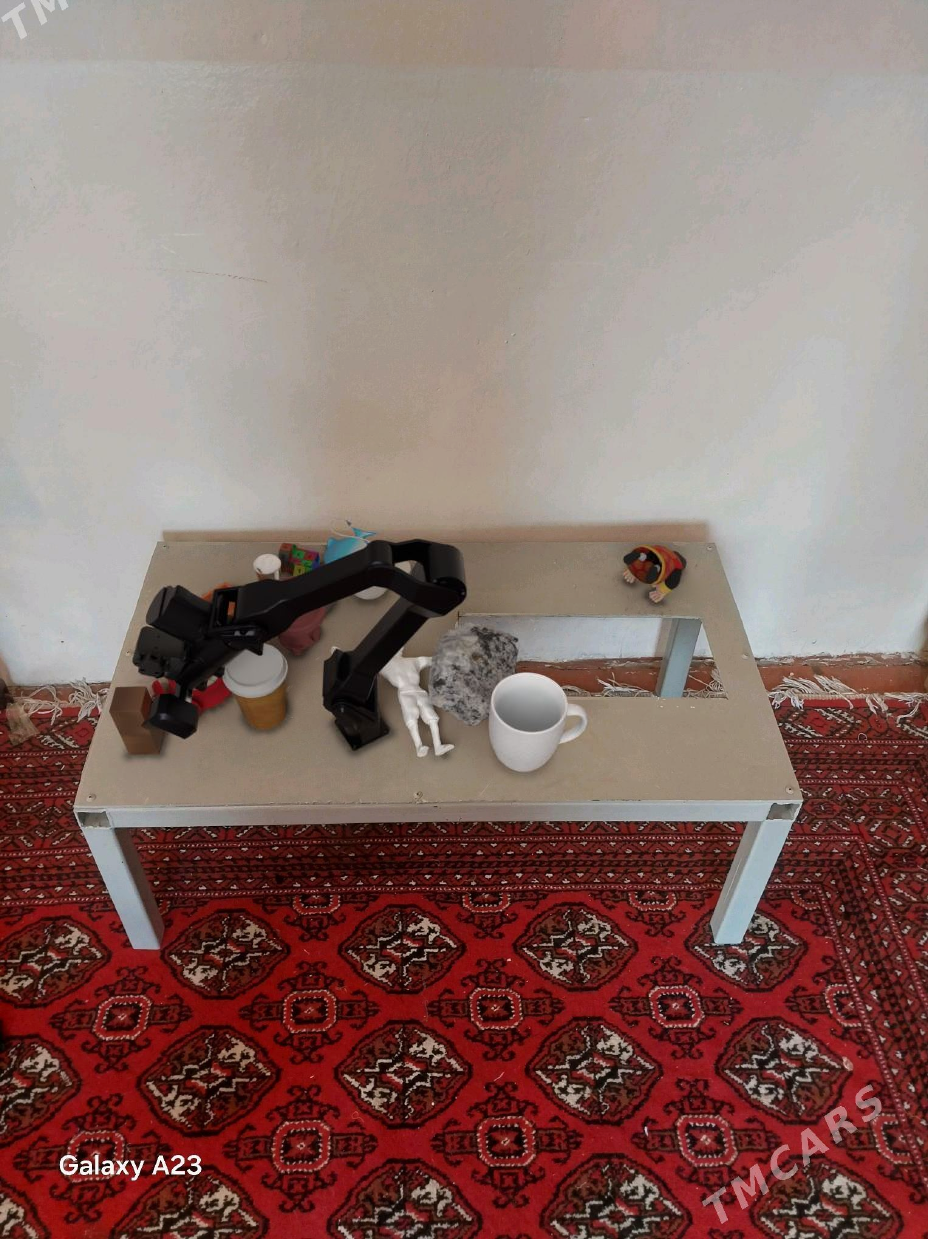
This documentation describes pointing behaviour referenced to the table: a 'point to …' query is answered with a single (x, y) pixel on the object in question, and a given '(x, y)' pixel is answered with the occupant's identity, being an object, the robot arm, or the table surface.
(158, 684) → the alarm clock
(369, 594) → the teacup
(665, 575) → the figurine
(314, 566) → the numbered block arch
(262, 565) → the milkshake
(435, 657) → the rock
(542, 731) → the mug
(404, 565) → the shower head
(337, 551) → the toy
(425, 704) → the figurine
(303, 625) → the mechanical component
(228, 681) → the disposable coffee cup
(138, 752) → the brown rectangular block
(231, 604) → the socket pad
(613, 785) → the table surface
